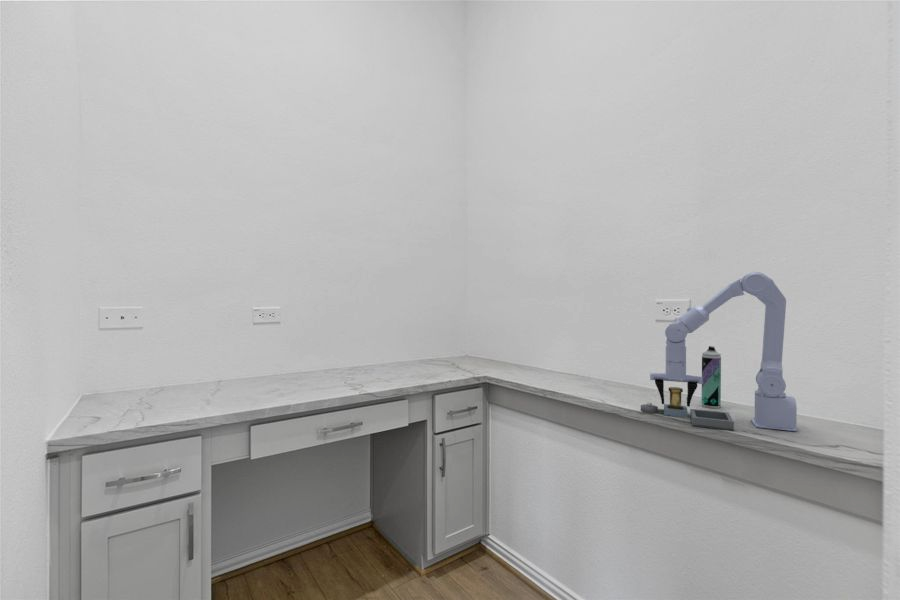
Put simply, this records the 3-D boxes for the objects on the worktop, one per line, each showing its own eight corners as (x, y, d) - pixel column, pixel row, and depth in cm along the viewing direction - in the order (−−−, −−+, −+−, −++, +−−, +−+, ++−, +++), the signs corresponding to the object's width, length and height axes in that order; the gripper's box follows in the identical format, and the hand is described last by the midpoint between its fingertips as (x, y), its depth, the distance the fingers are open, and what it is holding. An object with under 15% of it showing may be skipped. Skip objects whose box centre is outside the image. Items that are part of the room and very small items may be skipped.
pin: (682, 412, 141) (682, 387, 141) (682, 416, 137) (683, 390, 137) (668, 411, 143) (668, 386, 142) (668, 414, 139) (668, 389, 139)
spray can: (703, 403, 152) (703, 345, 152) (721, 406, 149) (722, 346, 148) (700, 406, 148) (700, 346, 147) (719, 409, 144) (719, 348, 144)
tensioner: (686, 412, 141) (686, 404, 141) (687, 417, 136) (687, 409, 136) (641, 407, 147) (641, 400, 147) (640, 412, 141) (640, 404, 141)
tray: (728, 420, 132) (728, 412, 132) (733, 430, 123) (733, 421, 123) (690, 416, 136) (690, 408, 136) (692, 426, 127) (692, 417, 127)
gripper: (701, 360, 140) (700, 403, 140) (650, 358, 146) (650, 399, 147) (703, 364, 134) (702, 409, 134) (650, 361, 140) (649, 404, 140)
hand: (675, 404), depth 140 cm, fingers open, 6 cm apart
